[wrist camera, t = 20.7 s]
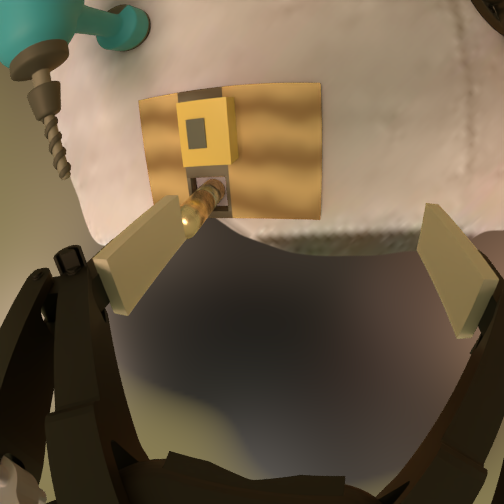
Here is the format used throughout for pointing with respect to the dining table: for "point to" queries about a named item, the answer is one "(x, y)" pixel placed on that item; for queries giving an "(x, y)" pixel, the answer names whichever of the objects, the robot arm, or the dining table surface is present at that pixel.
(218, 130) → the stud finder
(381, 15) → the dining table surface
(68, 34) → the power drill
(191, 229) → the brass cylinder rod
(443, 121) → the dining table surface
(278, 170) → the subfloor panel
